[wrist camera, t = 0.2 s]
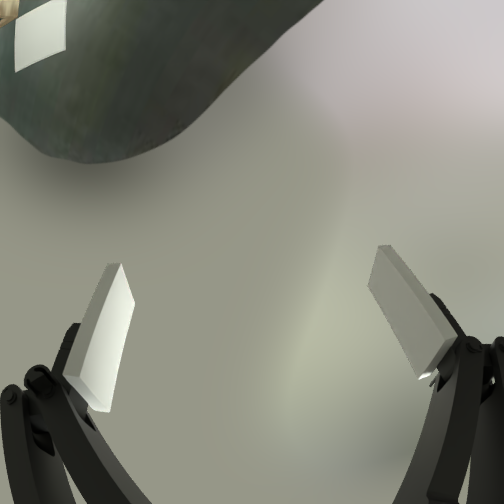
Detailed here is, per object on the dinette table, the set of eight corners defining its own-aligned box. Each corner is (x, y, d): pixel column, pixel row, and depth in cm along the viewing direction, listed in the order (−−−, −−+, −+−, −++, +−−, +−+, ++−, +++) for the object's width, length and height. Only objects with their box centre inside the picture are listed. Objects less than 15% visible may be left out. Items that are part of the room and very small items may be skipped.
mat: (17, 19, 19) (15, 19, 19) (67, -6, 20) (66, -6, 19) (16, 72, 24) (15, 72, 24) (65, 49, 25) (64, 49, 25)
